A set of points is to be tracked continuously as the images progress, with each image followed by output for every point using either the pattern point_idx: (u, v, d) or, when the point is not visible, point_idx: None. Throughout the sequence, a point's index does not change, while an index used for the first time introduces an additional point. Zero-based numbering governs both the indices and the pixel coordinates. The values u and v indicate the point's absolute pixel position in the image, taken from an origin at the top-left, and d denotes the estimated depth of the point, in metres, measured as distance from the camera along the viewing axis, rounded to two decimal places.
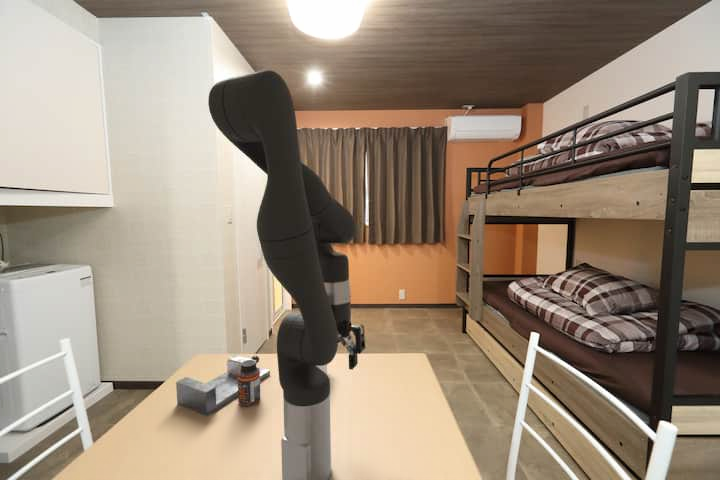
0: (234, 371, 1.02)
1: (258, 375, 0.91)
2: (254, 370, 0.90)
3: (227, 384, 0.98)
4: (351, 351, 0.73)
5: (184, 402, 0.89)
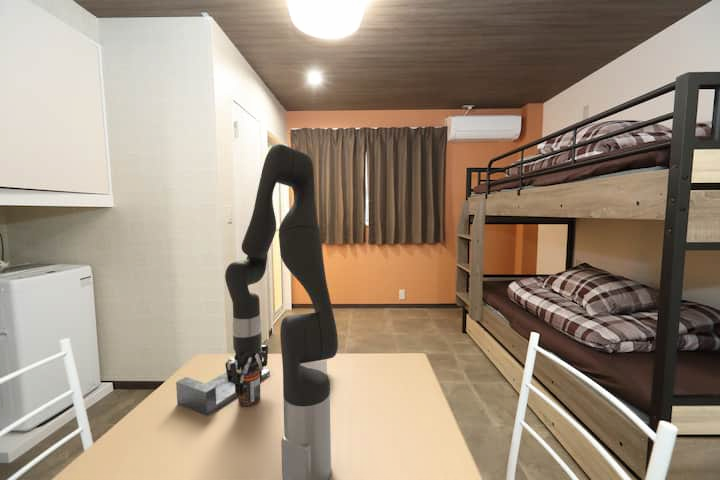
0: None
1: (258, 375, 0.91)
2: (254, 370, 0.90)
3: (227, 384, 0.98)
4: (261, 368, 0.94)
5: (184, 402, 0.89)
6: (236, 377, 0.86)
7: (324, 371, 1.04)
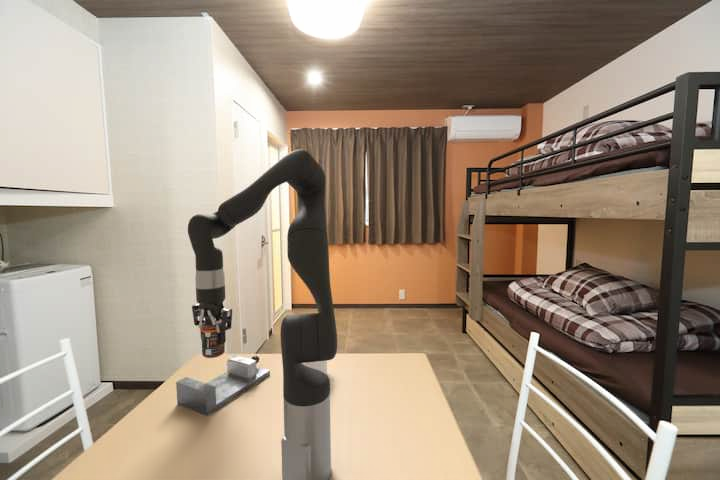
0: (234, 371, 1.02)
1: None
2: None
3: (227, 384, 0.98)
4: None
5: (184, 402, 0.89)
6: None
7: (324, 371, 1.04)
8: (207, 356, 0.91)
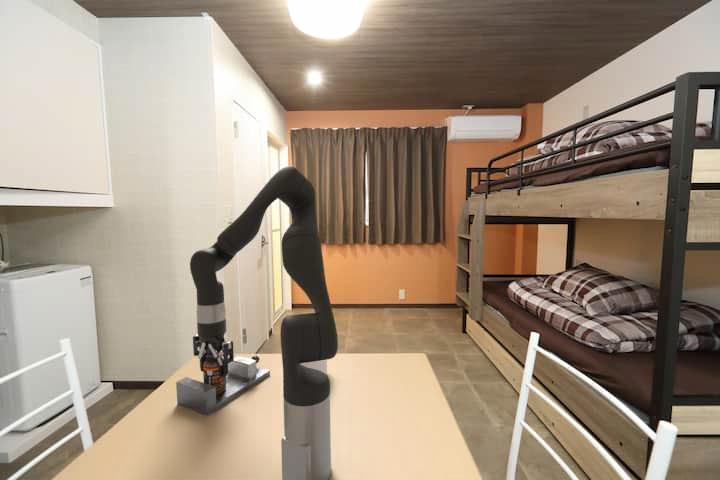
0: (234, 371, 1.02)
1: None
2: None
3: (227, 384, 0.98)
4: None
5: (184, 402, 0.89)
6: None
7: (324, 371, 1.04)
8: None
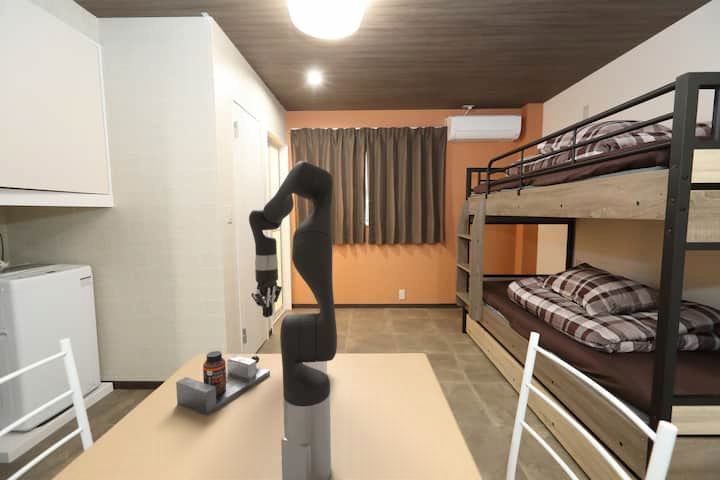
0: (234, 371, 1.02)
1: None
2: None
3: (227, 384, 0.98)
4: (272, 302, 1.14)
5: (184, 402, 0.89)
6: (263, 302, 1.09)
7: (324, 371, 1.04)
8: None
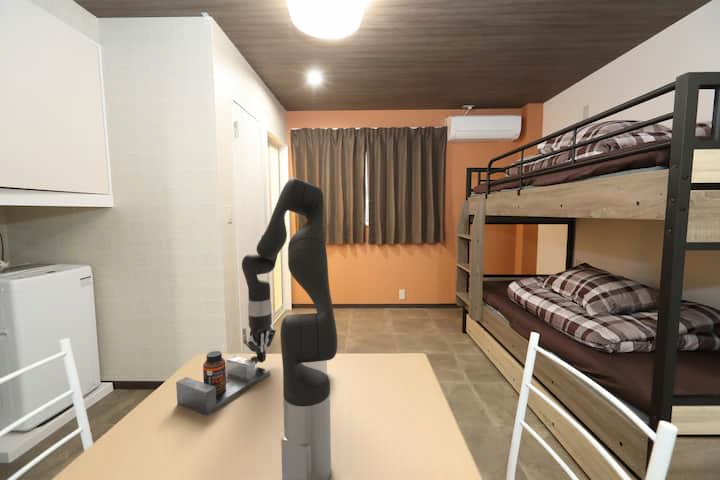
0: (233, 372, 1.02)
1: None
2: None
3: (227, 384, 0.98)
4: (265, 347, 1.11)
5: (184, 402, 0.89)
6: (256, 348, 1.07)
7: (324, 371, 1.04)
8: None
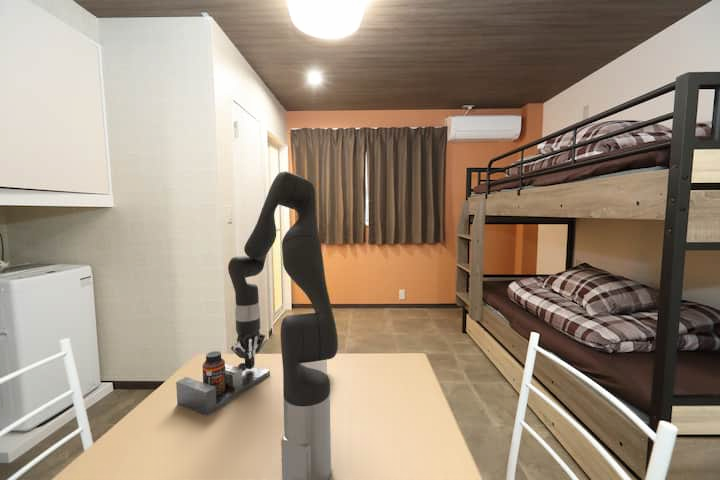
0: None
1: None
2: None
3: None
4: (254, 353, 1.06)
5: (184, 402, 0.89)
6: (244, 354, 1.02)
7: (324, 371, 1.04)
8: None
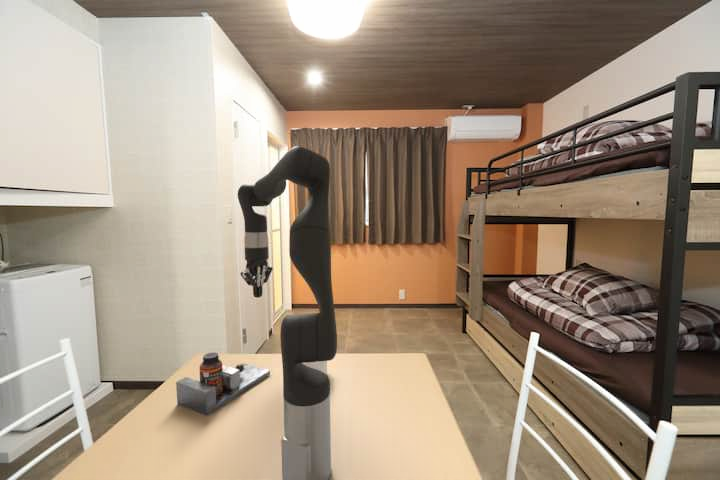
0: None
1: None
2: None
3: None
4: (262, 283, 1.09)
5: (184, 402, 0.89)
6: (253, 281, 1.05)
7: (324, 371, 1.04)
8: None
